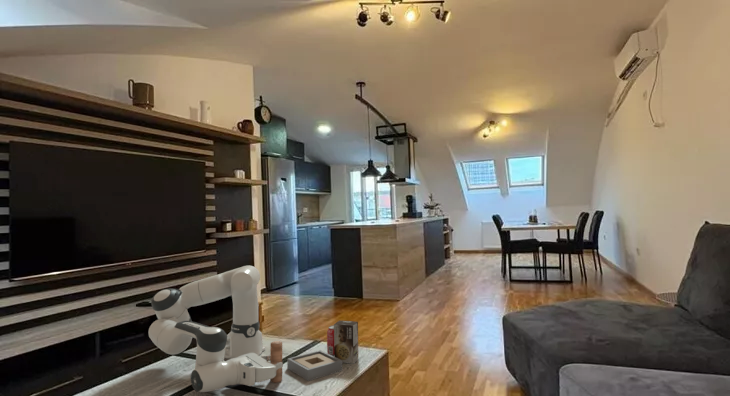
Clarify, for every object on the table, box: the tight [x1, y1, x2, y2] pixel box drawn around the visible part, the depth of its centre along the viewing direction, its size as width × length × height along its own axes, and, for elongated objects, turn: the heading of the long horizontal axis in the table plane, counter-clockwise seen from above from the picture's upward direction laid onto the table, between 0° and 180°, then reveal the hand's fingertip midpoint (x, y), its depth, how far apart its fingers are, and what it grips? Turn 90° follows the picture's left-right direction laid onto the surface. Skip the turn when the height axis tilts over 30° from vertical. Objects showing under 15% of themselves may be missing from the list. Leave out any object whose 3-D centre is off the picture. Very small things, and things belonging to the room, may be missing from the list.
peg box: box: [286, 349, 343, 382], centre depth 164 cm, size 16×16×4 cm
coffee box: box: [333, 320, 359, 365], centre depth 175 cm, size 9×6×16 cm
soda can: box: [326, 324, 334, 356], centre depth 183 cm, size 7×7×12 cm
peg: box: [269, 340, 283, 384], centre depth 154 cm, size 4×4×14 cm
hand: (276, 360), depth 154 cm, fingers open, 8 cm apart
